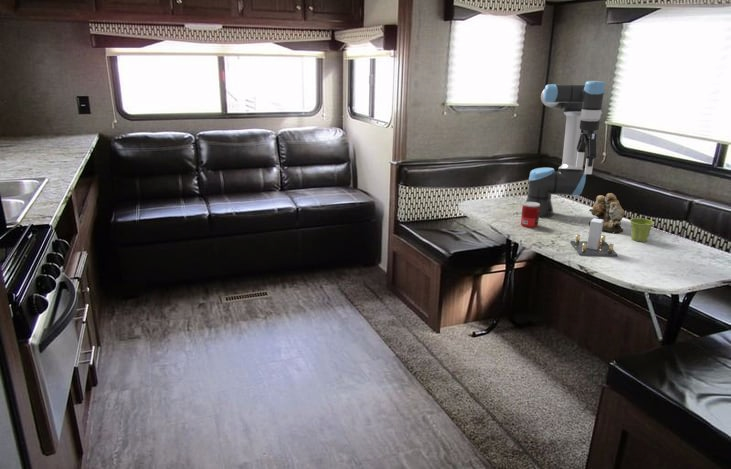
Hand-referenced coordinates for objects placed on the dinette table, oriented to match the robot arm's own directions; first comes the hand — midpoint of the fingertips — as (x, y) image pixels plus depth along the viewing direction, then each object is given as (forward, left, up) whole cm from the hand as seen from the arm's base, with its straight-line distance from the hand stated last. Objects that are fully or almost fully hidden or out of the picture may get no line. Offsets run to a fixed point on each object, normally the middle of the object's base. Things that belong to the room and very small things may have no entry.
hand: (583, 170), depth 228 cm
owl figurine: (-20, +19, -32) cm, 42 cm away
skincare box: (+11, +5, -31) cm, 33 cm away
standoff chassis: (+11, +5, -32) cm, 34 cm away
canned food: (-20, -16, -32) cm, 41 cm away
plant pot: (-4, +29, -32) cm, 43 cm away
